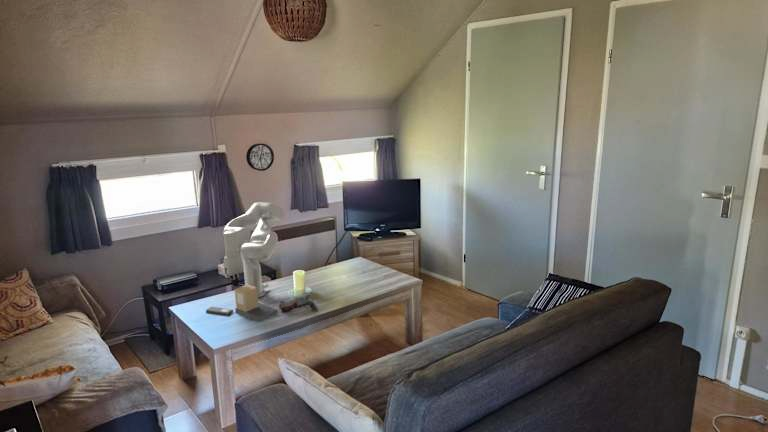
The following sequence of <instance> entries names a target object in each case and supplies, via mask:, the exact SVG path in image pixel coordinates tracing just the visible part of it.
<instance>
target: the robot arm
mask: <svg viewBox="0 0 768 432" xmlns="http://www.w3.org/2000/svg"><path fill="white" fill-rule="evenodd" d="M284 217H285V210H284V207H282V206H281V205H278V204H276V203H274V202H269V201H267V202H266V201H265V202H263V201H256V202H254V203H253V204H251V206H250V208H248V209H247V211H246V212H245V214H242V215H240V216H238V217H236V218H233V219H231V220H229V222H228V223H227V224H226V225H225V226H224V229H223V231H222V237H223V242H224V243H223V244H224V253H225V255H224V257H223V263H222V264H223V274H224V275H225V278H227V279H230V280H231V284H232V286H233V287H239V283H240V282H239V279H240V276H241V274H243V276H244V277H243V278H244V285H250V286H253V287H256V288H257V297H258V298H261V297H264V296H265V295H266V290H265V289H267V288H269V284H268V283H266V284H264V283H263V282H262V281H263V279H262V268H261V267H262V266H261V264H260V261H266V260H269V259H270V257H271V256H272V254H273V252H274V250H275V249H276V247H277V245H278V241H279V237H278V234H277V233H276V232H275V231H273V230H272V227H271V225H270V224H269V222H268V221H281V220H284ZM256 225H257V226H256ZM255 226H256V228H255V229H254V230H253V232H252V234H251V232H250V230H249V228H251V227H255ZM247 240H249V242H245V241H247ZM241 242H245V243H243V244H242V245H241V246H240V243H241Z"/></svg>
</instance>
